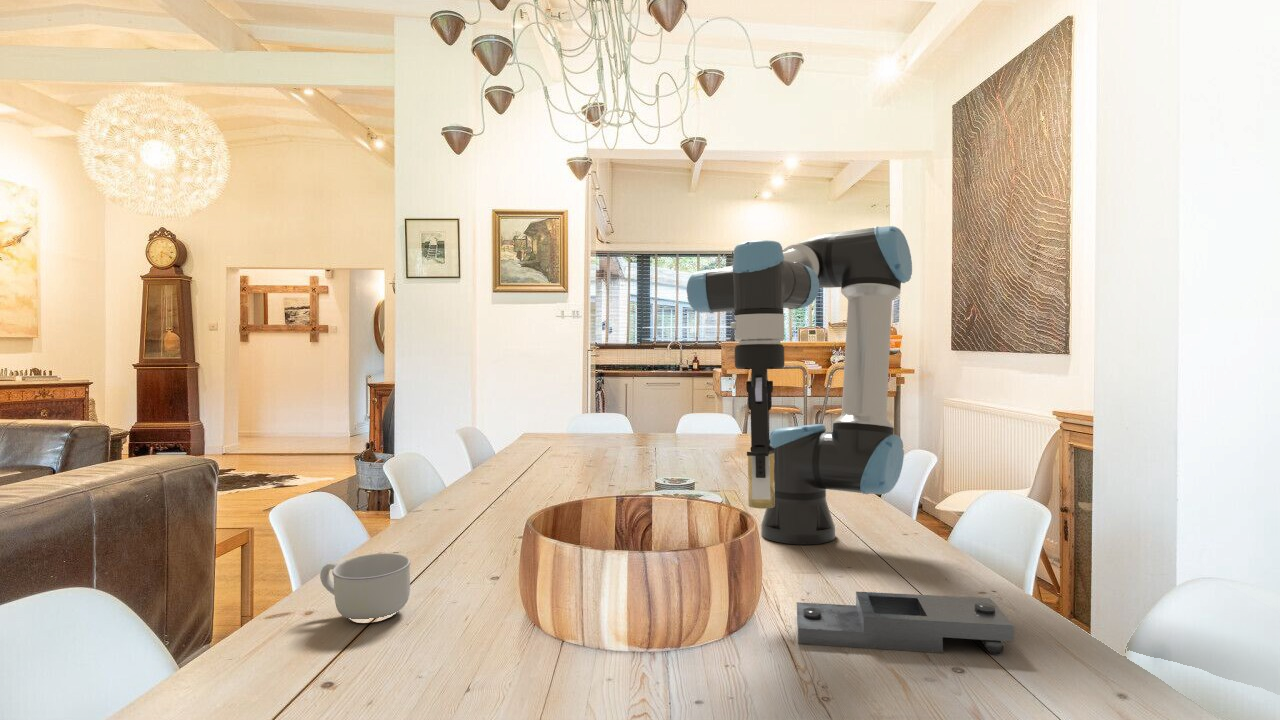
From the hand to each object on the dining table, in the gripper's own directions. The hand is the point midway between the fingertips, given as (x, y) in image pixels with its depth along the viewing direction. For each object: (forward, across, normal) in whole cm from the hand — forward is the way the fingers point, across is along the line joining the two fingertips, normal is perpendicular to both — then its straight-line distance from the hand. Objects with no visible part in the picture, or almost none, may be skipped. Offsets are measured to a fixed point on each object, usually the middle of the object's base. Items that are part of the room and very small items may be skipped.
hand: (761, 495), depth 108 cm
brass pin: (+1, 0, 0) cm, 1 cm away
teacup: (+16, +15, -58) cm, 62 cm away
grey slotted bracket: (+16, +10, +18) cm, 26 cm away
